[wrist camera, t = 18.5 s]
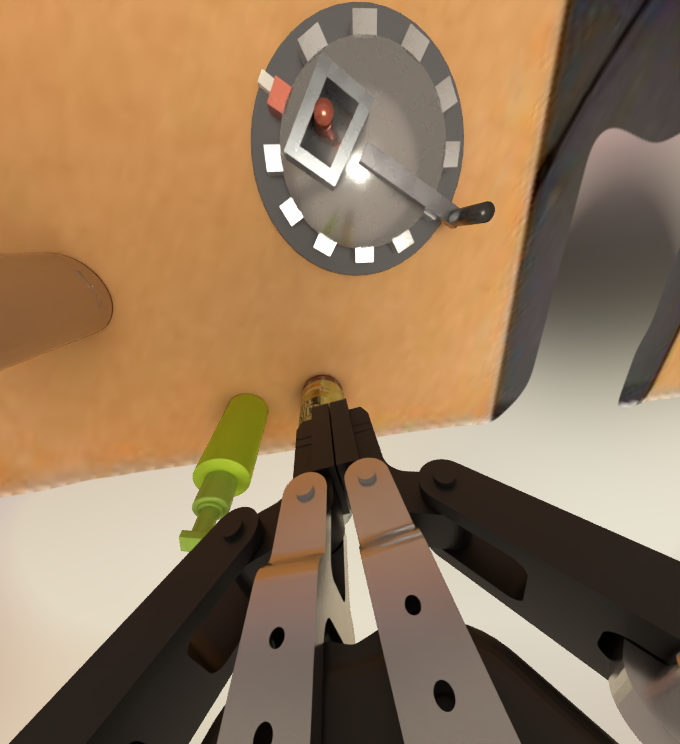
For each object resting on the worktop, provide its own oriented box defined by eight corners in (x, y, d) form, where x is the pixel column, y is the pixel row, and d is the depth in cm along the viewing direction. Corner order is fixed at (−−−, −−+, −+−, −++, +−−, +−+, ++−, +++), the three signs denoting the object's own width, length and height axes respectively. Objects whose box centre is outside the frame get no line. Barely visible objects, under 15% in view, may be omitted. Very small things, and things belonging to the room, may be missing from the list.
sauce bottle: (312, 367, 38) (313, 476, 20) (350, 383, 39) (382, 497, 22) (294, 402, 40) (280, 529, 22) (330, 416, 42) (345, 543, 24)
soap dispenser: (273, 427, 41) (245, 566, 24) (228, 424, 40) (162, 567, 22) (276, 396, 39) (247, 524, 21) (227, 391, 38) (153, 522, 20)
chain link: (332, 191, 26) (334, 186, 24) (286, 159, 25) (283, 151, 22) (369, 111, 24) (375, 97, 21) (320, 70, 22) (321, 51, 20)
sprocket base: (291, 294, 33) (290, 296, 31) (214, 44, 23) (208, 31, 22) (461, 250, 33) (468, 250, 31) (457, -21, 23) (467, -39, 21)
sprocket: (404, 298, 33) (430, 313, 26) (240, 206, 27) (215, 191, 20) (504, 131, 27) (575, 89, 20) (317, -38, 21) (321, -188, 14)
